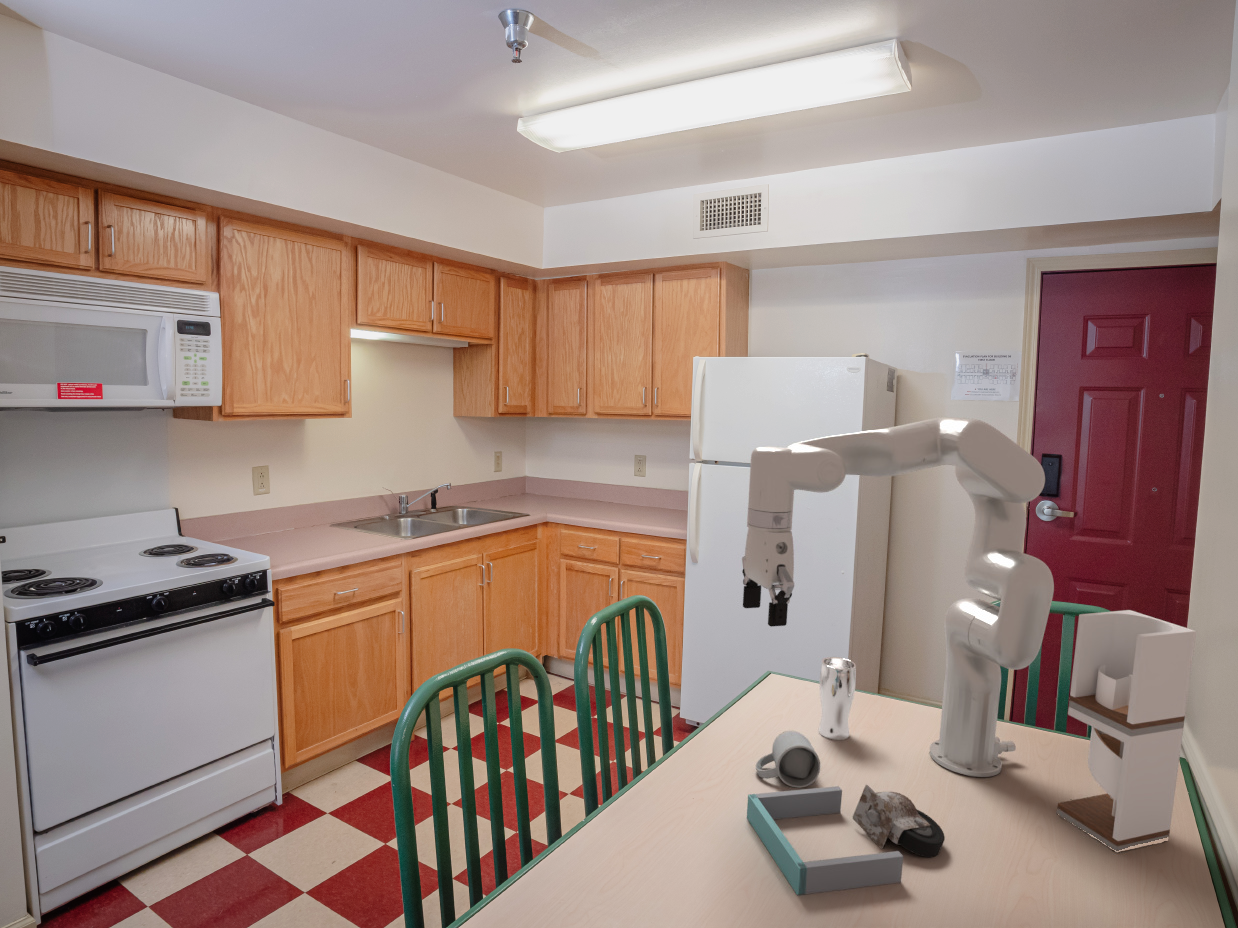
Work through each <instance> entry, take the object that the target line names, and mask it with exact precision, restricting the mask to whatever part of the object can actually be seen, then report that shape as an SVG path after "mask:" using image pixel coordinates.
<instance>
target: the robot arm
mask: <svg viewBox="0 0 1238 928" xmlns="http://www.w3.org/2000/svg"><path fill="white" fill-rule="evenodd" d="M749 466H750V469H749V486H748V487H749V489H748V503H747V506H748V507H747V520H746V521H747V522H746V527H747V528H748V529H747V533H746V541H745V551H744V556H742V558H741V563H742V564H741V565H742V568H743V569H742V571H741V572H742V575H743V577H744V578H743V580H742V584H743V597H742V608H744V609H757V608H760V607H761V601H762V600H761V599H762V587H763V588H764V589H766V590H768V593H769V596H770V600H771V601H769V603H768V615H767V626H769V627H784V626H787V624H788V622H787V621H788V610H789V609H788V606H789V604H790V602H791V601H790V600H791V598H792V597H793V596H792V595H793V590H794V588H795V582H794V573H795V572H794V570H795V569H794V568H795V567H794V566H795V565H794V563H795V561H794V560H795V557H794V555H795V554H794V553H795V550H794V540H793V532H792V528H793V525H792V524H793V515H794V511H793V510H794V501H795V500H794V499H795V498H794V497H795V495H794V494H795V491H796V490H798V491H806V492H813V493H819V494H821V493H823V494H824V493H829V492H831V491H834V490H836V489H838V488H839V487H840V486H841V485H842V484H843V483H844V480H845V478H846V476H849V475H850V476H851V475H853V476H866V477H874V478H875V477H878V478H879V477H882V478H883V477H895V476H899V475H904V474H908V473H912V472H917V471H921V470H926V469H930V468H934V467H940V466H954V469H955V470H954V471H955V472H954V473H955V476H956V479H957V481H958V483H959V484H960V486H961V487H962V488H963V489H964V490H965V492H966V493H967V494H968V496H969V498H970V500H971V502H972V504H973V509H974V514H975V515H974V524H973V531H972V535H971V540H970V544H969V548H968V553H967V556H966V561H965V566H964V579H965V583H967V585H968V586H969V587H971V589H973V590H975V591H977V592H979V593H980V594H983V595H985V596H986V597H989V598H992V599H994V600H997V601H1000V604H999V606H997V605H996V604H993V603H991V602H988V601H986V600H982V599H980V598H974V597H965V598H964V597H963V598H960V599H957V600H955V601H954V602H953V603H952V604H951V605H950V606H949V607H948V609H947V610H946V613H945V616H944V624H943V625H944V636H945V638H944V639H945V647H946V649H945V650H946V660H945V661H946V662H945V663H946V665H945V674H944V675H945V676H944V683H943V684H944V685H943V695H942V703H941V704H942V706H941V717H940V728H939V737H938V740H934V741H933V742H932V743H930V745H929V756H930V758H932V760H933V761H935V762H936V764H938V765H940V766H941V767H943V768H945V769H946V770H949V771H952V772H954V773H957V774H961V775H964V776H969V777H974V778H976V777H977V778H989V777H994V776H996V775H998V774H999V773H1001V771H1002V767H1003V763H1002V760H1001V758H1000V757H999V755H1001V754H1002V753H1003V752H1005V753H1008V752H1015V751H1016V744H1015V742H1014V741H1013V740H1003V741H1001V740H1000V738H999V737H998V736H996V734H997V732H996V731H997V722H998V716H999V715H998V713H999V703H1000V693H1001V685H1002V671H1001V667H1003V668H1005V669H1008V670H1016V671H1017V670H1023V669H1025V668H1027V667H1029V666H1030V665H1031V664H1032V663H1033V662H1034V660H1035V659H1036V658H1037V656H1038V654H1039V652H1040V650H1041V646H1042V643H1043V639H1044V637H1045V636H1044V634H1045V632H1046V627H1047V623H1048V618H1049V615H1050V609H1051V606H1052V601H1053V598H1054V592H1055V583H1054V576H1053V574H1052V571H1051V569H1050V568H1049V566H1048V565H1047V564H1046V563H1045V562H1044V561H1042V560H1041V559H1040V558H1038V557H1035V556H1034V555H1030V554H1027V553H1023V546H1024V542H1025V541H1024V539H1025V534H1026V528H1027V516H1026V511H1025V508H1024V503H1029V502H1032V501H1033V500H1035V499H1036V498H1038V497H1039V495H1040V494H1041V493H1042V491H1043V489H1044V487H1045V485H1046V484H1045V483H1046V475H1045V471H1044V468H1043V466H1042V465H1041V463H1040V462H1039V461H1038V459H1037V458H1036V457H1034V456H1033V454H1031V453H1030V452H1028V451H1027V450H1026V449H1024V448H1023V447H1021V446H1020V445H1019V444H1017V443H1016V442H1015V441H1014V440H1012V439H1011V438H1009V437H1008V436H1007V435H1006V434H1004V433H1003V432H1001V430H999V429H997V428H995V426H992V425H991V424H989V423H987V422H985V421H983V420H980V419H974V418H965V417H963V418H962V417H954V416H953V417H952V416H941V417H934V418H929V419H924V420H921V421H914V422H910V423H906V424H902V425H901V424H900V425H897V426H891V427H886V428H880V429H874V430H873V429H872V430H864V431H859V432H853V433H852V432H851V433H845V434H837V435H829V436H823V437H818V438H813V439H809V440H804V441H798V442H794V443H792V444H790V445H788V446H786V447H783V446H782V447H779V446H758V447H756V448H754V449H753V450H752V452H751V455H750V465H749ZM776 591H778V593H776Z"/></svg>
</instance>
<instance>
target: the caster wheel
mask: <svg viewBox="0 0 1238 928" xmlns="http://www.w3.org/2000/svg"><path fill="white" fill-rule="evenodd" d="M852 820H853V821H854V822H855V823H856V824H857V825H858V826H859V827H860V828H861V829H862V830H863V831H864V833H866V834H867V835H868V837H870V839H871V840H872V841H873V842H874V843H875V844H876V845H877V846H878V847H879V848H880V849H884V846H885V844H886V842H887V840H888V839H889V840H890V841H891V842H892V843H894V844H895V845H898V846H899V845H900V846H901V847H903V848H904V849H906V850H907V851H909V852H910V853H912V854H915V855H918V856H921V857H926V858H933V857H936V856H937V855H938V854H939V853H940V851H941V849H942V846H943V844H944V842H945V837H946V836H945V833H944V831H943V829H942V828H941V826H940V825H939V824H938V823H937V822H936V820H934V819H933V818H932V817H930V816H929V815H928V814H926V813H925V812H923V811H921V810H919V809H918V808H917V807H916V805H915V804H914V803H913V801H912V800H911V799H910V798H909V797H908V796H906V795H904V794H902V793H900V792H896V791H888V790H886V791H877V792H875V791H874V789H873V788H871V787H870V786H869V785H868V784H865V786H864V788H863V790H862V793H861V795H860V797H859V800H858V803H857V805H856V807H855V810H854V812H853V815H852Z"/></svg>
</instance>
